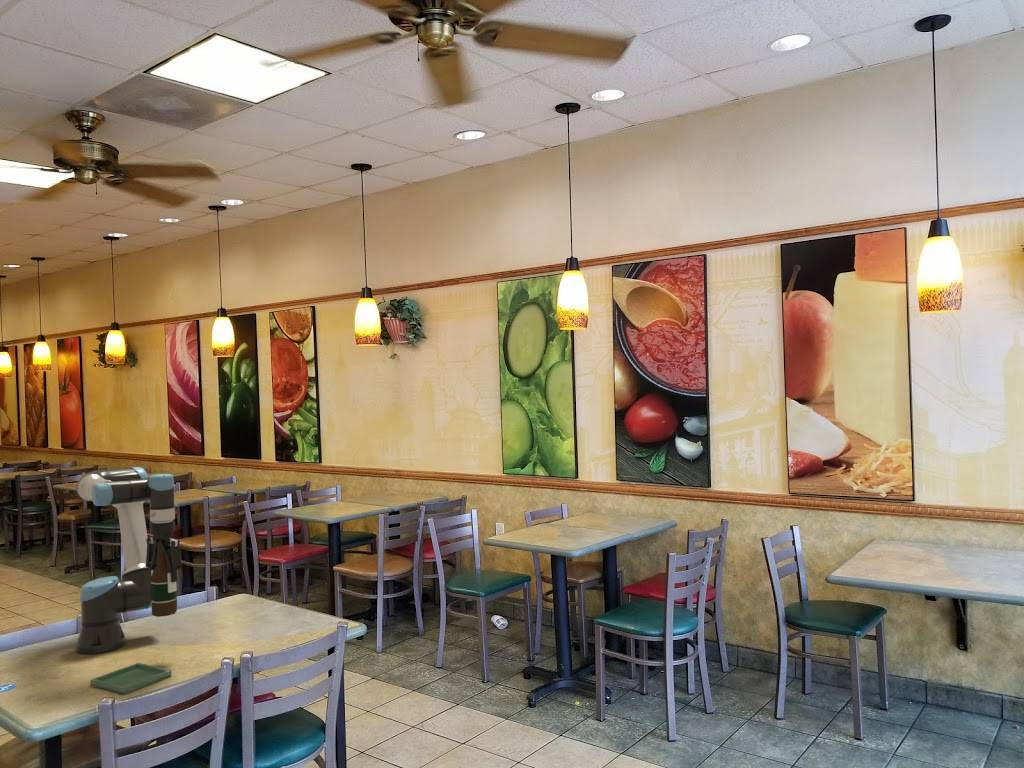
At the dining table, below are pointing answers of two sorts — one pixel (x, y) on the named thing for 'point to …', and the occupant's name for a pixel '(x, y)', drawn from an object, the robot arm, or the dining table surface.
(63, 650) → the dining table surface
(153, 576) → the beer bottle
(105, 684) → the tray
